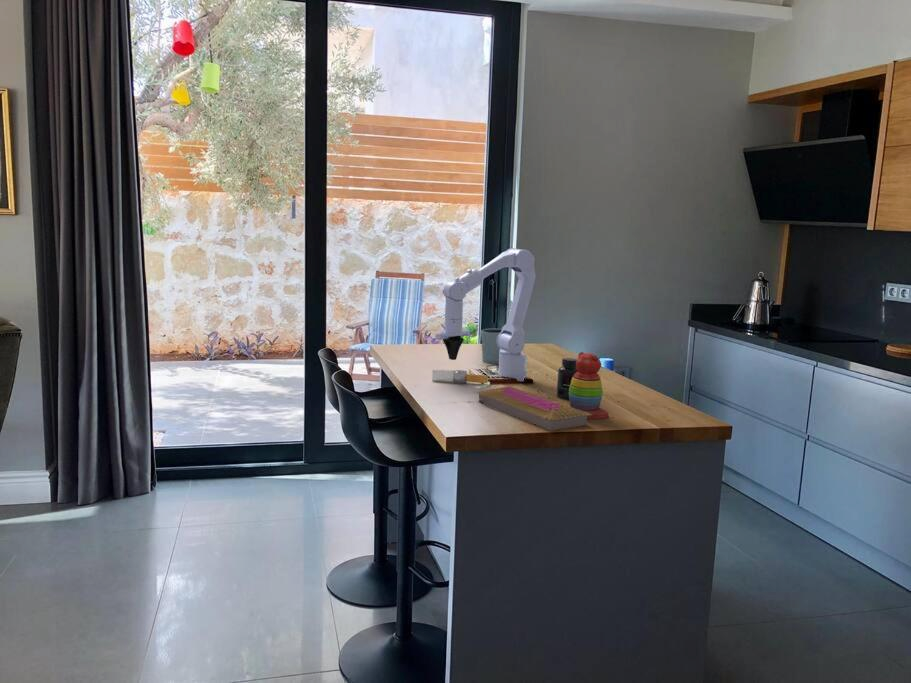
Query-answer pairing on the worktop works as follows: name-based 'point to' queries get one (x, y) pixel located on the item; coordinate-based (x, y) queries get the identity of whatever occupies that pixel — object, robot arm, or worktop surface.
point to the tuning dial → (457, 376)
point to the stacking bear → (587, 387)
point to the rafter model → (528, 399)
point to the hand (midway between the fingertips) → (452, 359)
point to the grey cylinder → (490, 345)
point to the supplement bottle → (565, 377)
